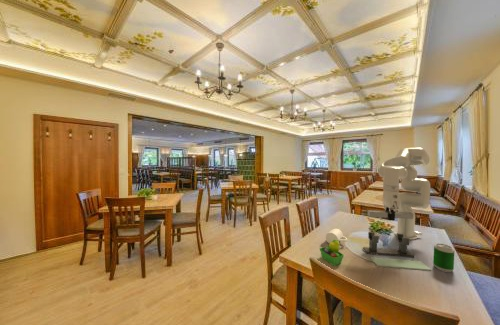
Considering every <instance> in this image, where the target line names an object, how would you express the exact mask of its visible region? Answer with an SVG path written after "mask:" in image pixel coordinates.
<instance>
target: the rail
mask: <svg viewBox="0 0 500 325" xmlns="http://www.w3.org/2000/svg"><path fill="white" fill-rule="evenodd" d="M388 213H389V211H385V210H367V216H368V217H369V218H384V219H388ZM413 215H414V214H413V213H411V212H398V211H397V212H396V213H395V219H398V218H403V219H413Z"/></svg>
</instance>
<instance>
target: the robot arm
mask: <svg viewBox="0 0 500 325" xmlns="http://www.w3.org/2000/svg"><path fill="white" fill-rule="evenodd" d="M429 163H430V155H429V153H428V151H427V150H426V149H424V148H422V147H404V148H400V150H398V152H397V154H396V155H395V157H392V158H389V159H386V160H384V161H383V162H382V163H381V164H380V165H379V169H378V172H377V173H378V175H379V177H380V178H383V184H382V190H383V191H382V204H383V207H384V211H389V213H388V218H387V221H395V220H396V218H395V213H396V212H411V213H413V214H414V215H413V219H403V218H397V229H396V230H397V231H394V235H395V236H396V237H397V234H403V237H405V238H409V240H413V241H414V240H417V239H418V236H423V233H422V232H419V231H417V230H415V227H416V226H415V223H416V222H415V221H416V213H415V211H414V209H413V208H416V209H423V210H425V209H428V208H429V205H430V197H431V182H430V181H429V180H428V179H426V178H418V171H417V169H416V168H415V166H427V165H428V164H429ZM400 180H401V181H400ZM400 182H401V183H400ZM400 187H401V190H403V191H405V192H399V191H400ZM412 192H415V193H412ZM419 193H420V194H419Z"/></svg>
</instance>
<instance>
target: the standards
mask: <svg viewBox="0 0 500 325" xmlns="http://www.w3.org/2000/svg"><path fill="white" fill-rule="evenodd" d="M367 237H368V239H369V246H368V247H367V246H366V247H365V246H363V247H362V250H363V249H364V250H365V251H364V250H363V251H364V252H365V253H366V254H367V255H376V254H378V255H379V256H392V257H403V258H415V255H414V254H413V253H412V252H411V251H409V250H408V246H409V245H410V239H409V238H405V237H403V234H397V236H396V241H397V245H398V247H397V249H395V248H380V247H379V248H378V244H379V243H380V241H379V240H380V238H379V237H380V236H379V235H376V234H375V232H373V231H368V236H367Z"/></svg>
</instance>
